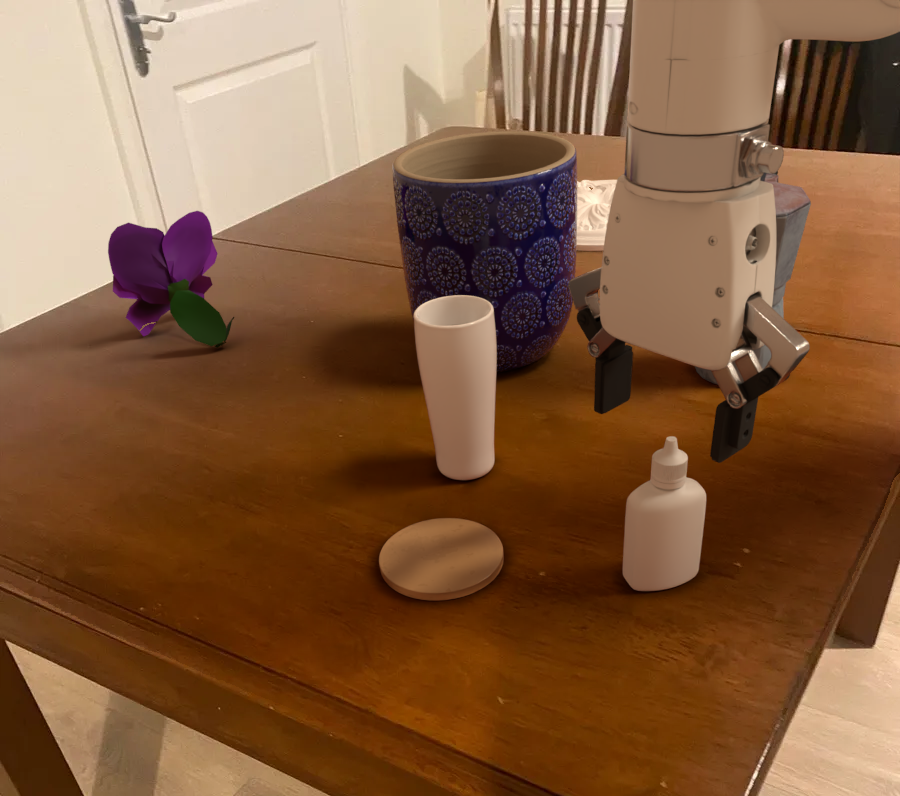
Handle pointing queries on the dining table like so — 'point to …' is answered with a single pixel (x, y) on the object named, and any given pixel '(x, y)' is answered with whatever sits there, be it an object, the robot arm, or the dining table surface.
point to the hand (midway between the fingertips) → (667, 428)
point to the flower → (168, 276)
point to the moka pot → (780, 251)
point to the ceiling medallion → (593, 213)
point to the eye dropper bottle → (664, 524)
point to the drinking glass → (459, 381)
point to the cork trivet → (441, 559)
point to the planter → (493, 231)
